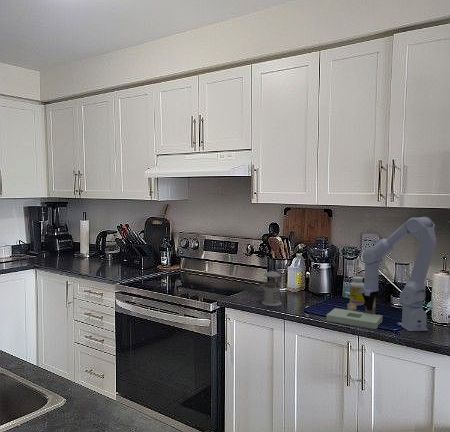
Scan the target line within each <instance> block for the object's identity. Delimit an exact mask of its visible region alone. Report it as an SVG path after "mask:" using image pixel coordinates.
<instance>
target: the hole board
mask: <svg viewBox="0 0 450 432" xmlns="http://www.w3.org/2000/svg"><path fill="white" fill-rule="evenodd" d="M383 317H384V316H383V315H381V314H376V313H375V314H370V313H366V312H362V311H357V310H356V311H350V310H347V309H344V308H343V309H342V308H336V307H334V308H333V309H332V310H331V311H329V312H328V313H327V314H326V317H325V320H326V322H330V323H336V324H337V323H338V324H343V325H348V326H354V327H361V328H366V329H373V330H377V329H378V328H379V326H380V325H381V324H382V323H383ZM380 323H381V324H380ZM379 324H380V325H379ZM378 325H379V326H378Z"/></svg>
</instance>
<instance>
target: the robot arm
mask: <svg viewBox="0 0 450 432" xmlns="http://www.w3.org/2000/svg"><path fill="white" fill-rule="evenodd" d="M435 227H436V224H435V223H434V221H433V220H431V218H430V217H428V216H421V217H410V218H408V220H406V221H405V222H403V223H402V225H401V226H399V227H398V228H397V229H396V230H395V231H394V232H393V233H392V234H391V235H390V236H389V237H388V238H381V239H380V238H379V240H378V241H377V243H376V244H374V245H372V246H371V247H370V249H367V250H364V252H363V253H362V255H361V256H362V257H361V258H362V261H363V262H364V277H363V280H364V282H363V283H364V286H362V287H361V289H364V293H362V296H363V298H364V304H365V310H366V309H367V310H371V311H372V308H373V303H374V299H375V297H376V300H377V299H378V296H379V294H380V291H379V273H380V271H379V269H380V268H379V267H380V262H381V261H382V259H383V257H385V256H386V255H387V254H388V253H390V252H391V251H392V250H393V249H394V245H395V244H396V243H397V242H399V241H401V240H402V239H403V238H404V237H406V236H407V235H410V234H411V235H412V236H413V237H414V238H416V239H417V241H418V243H419V246H418V250H417V253H416V257H415V260H414V263H413V266H412V270H411V273H410V278H409V280H408V282H406V284H405V285H404V287H403V289H402V290H401V291H400V293H399V300H400V303H402V306H401V308H402V309H401V310H402V312H401V313H402V315H401V322H397V325H398V326H400V325H401V326H400V327H402V328H403V329H405V330H407V331H408V332H428V331H429V329H428V328H427V318H428V316H427V313H426V311H425V310H424V308H423V302H424V301H425V300H426V287H427V286H426V285H425V281H426V278H427V274H428V271H429V269H430V266H431V265H430V264H431V262H432V258H433V255H434V253H435V252H434V251H435V249H436V245H437V237H436V232H435Z"/></svg>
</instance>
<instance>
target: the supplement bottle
mask: <svg viewBox="0 0 450 432" xmlns="http://www.w3.org/2000/svg"><path fill="white" fill-rule="evenodd" d="M363 280H364V277H362V276H357V275H355V276H352V281H351V282H350V283H349V285H350V286H349V303H354V304H356V305H357V306H363V305H364V304H365V300H364V298H363V296H362V293H365V291H364V289H361V287H362V286H364V282H363Z"/></svg>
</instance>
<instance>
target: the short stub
mask: <svg viewBox="0 0 450 432" xmlns="http://www.w3.org/2000/svg"><path fill="white" fill-rule="evenodd" d="M357 306H358V305H356V304H354V303H350V302H349V303H347V304H346V310H350V311H357Z"/></svg>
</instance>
